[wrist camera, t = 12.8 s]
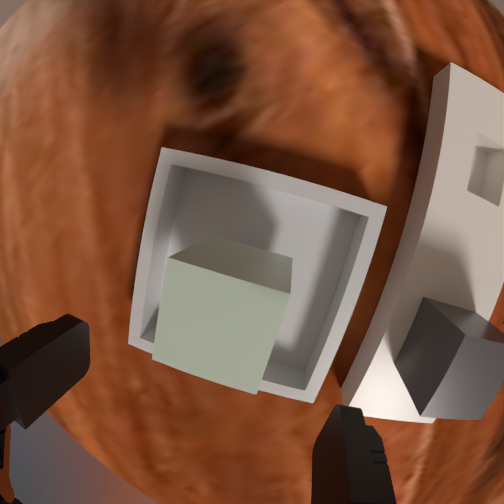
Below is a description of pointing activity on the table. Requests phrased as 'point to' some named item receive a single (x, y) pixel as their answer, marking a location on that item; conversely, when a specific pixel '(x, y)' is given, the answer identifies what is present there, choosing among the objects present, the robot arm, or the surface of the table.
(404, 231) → the flat gray board
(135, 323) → the tray
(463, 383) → the block
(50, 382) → the robot arm
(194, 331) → the block
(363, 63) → the table surface
